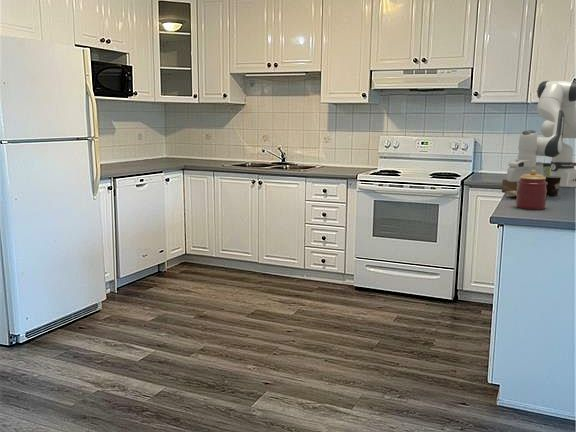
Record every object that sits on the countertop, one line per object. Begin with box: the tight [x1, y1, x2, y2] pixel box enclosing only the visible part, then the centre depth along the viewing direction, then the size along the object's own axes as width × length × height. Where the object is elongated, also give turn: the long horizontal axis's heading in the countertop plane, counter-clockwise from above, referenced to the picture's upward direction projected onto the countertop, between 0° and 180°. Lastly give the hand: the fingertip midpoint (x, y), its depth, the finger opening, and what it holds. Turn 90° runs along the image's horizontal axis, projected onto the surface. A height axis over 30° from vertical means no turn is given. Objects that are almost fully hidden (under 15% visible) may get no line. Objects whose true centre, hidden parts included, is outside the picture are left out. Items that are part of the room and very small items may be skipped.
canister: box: [515, 170, 548, 210], centre depth 257 cm, size 13×13×18 cm
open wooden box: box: [501, 178, 517, 194], centre depth 301 cm, size 12×12×7 cm
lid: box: [504, 184, 518, 197], centre depth 285 cm, size 13×13×5 cm
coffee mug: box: [544, 176, 561, 197], centre depth 293 cm, size 12×9×10 cm
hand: (524, 189), depth 285 cm, fingers closed on lid, 3 cm apart
